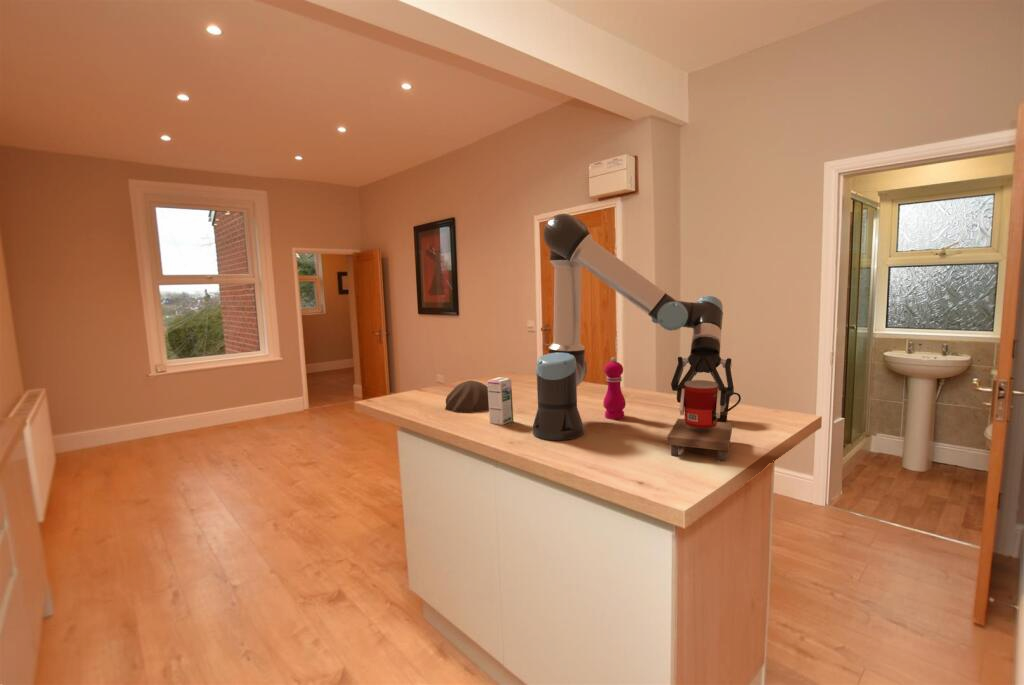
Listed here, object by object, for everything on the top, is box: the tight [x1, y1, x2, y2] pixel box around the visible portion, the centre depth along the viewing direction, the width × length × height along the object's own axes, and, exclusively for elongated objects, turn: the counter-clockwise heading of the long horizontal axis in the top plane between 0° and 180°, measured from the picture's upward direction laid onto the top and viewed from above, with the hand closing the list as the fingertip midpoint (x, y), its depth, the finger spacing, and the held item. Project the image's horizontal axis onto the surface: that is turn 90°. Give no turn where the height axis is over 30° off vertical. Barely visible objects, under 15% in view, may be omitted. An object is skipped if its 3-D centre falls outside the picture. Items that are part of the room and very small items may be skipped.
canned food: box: [684, 379, 718, 428], centre depth 126 cm, size 8×8×11 cm
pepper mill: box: [602, 356, 627, 420], centre depth 159 cm, size 7×7×20 cm
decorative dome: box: [444, 379, 489, 414], centre depth 183 cm, size 19×20×10 cm
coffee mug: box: [717, 389, 742, 423], centre depth 150 cm, size 12×9×10 cm
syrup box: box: [486, 376, 514, 426], centre depth 158 cm, size 6×6×14 cm
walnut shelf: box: [666, 418, 733, 462], centre depth 126 cm, size 14×18×5 cm
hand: (699, 413), depth 123 cm, fingers closed on canned food, 8 cm apart
